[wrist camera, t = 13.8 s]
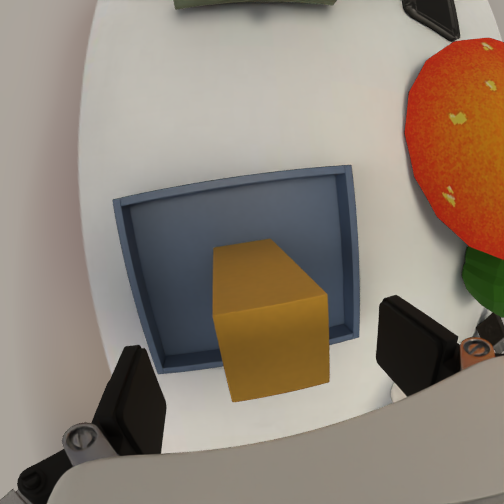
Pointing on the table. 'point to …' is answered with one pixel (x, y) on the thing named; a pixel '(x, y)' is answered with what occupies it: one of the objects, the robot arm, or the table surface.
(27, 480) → the robot arm
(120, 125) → the table surface
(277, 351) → the block
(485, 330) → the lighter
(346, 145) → the table surface
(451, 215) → the toy strawberry
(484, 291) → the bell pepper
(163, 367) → the tray
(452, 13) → the phone
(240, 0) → the drawer
